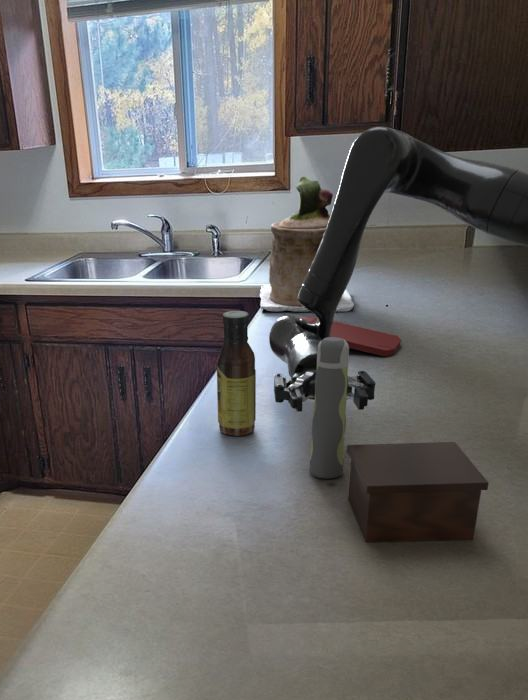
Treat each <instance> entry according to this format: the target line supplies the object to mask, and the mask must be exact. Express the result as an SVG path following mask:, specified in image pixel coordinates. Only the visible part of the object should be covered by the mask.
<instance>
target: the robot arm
mask: <svg viewBox="0 0 528 700" xmlns="http://www.w3.org/2000/svg"><path fill="white" fill-rule="evenodd" d="M343 168H344V169H343V172H342V175H341V179H340V182H339V183H340V184H339V187H338V191H337V193H336V197H335V200H334V204H333V207H332V210H331V213H330V219H329V222H328V225H327V228H326V231H325V233H324V236H323V239H322V241H321V244H320V246H319V249H318V251H317V253H316V256H315V258H314V260H313V262H312V265H311V267H310V269H309V271H308V274H307V276H306V278H305V280H304V283H303V285H302V287H301V289H300V292H299V295H298V301H299V303H300V304H301V305H302V306H303V307H305V308H306V309H307V310H309V311H308V312H311V313H312V314H313V315H314V316H315V317H318V318H317V322H316V324H313V323H311V322H308V321H305V320H302V319H299V318H298V317H297V316H294V315H284V316H281V317H279V318H278V319H277V320H275V322H274V323H273V324H272V326H271V328H270V331H269V335H268V336H269V337H268V341H269V342H268V343H269V347H270V350H271V352H272V353H273V354H274V355H275V356H276V357H277V358H278V359H279V360H281V361H282V362H283V363H285V364H286V365H287V370H288V372H287V373H288V376H289V377H290V378H287V377H286V376H284V375H283V374H281V373H275V374H274V375H273V382H274V383H273V392H274V402H275V403H278V404H281V403H284V401H287V403H288V404H289V405H290V408H291V409H294V410H295V411H296V412H297V413H299V412H303V403H304V402H306V401H307V400H313V401H315V377H316V372H317V353H318V345H319V343H320V342H321V341H322V340H323V339H324V338H328V337H330V334H331V328H332V324H333V321H334V319H335V315H336V309H337V307H338V304H339V302H340V300H341V298H342V296H343V294H344V292H345V289H347V287H348V285H349V283H350V281H351V280H352V279H351V278H352V276H353V274H354V272H355V269H356V265H357V261H358V257H359V252H360V247H361V243H362V239H363V236H364V233H365V229H366V227H367V224H368V222H369V219H370V218H371V215H372V213H373V211H374V210H375V207H376V206H377V205H378V203H379V202H380V200H381V198H382V196H383V195H384V194H385V193H386V194H394V195H399V196H403V197H407V198H412V199H415V200H419V201H422V202H425V203H428V204H432V205H433V206H436V207H438V208H440V209H442V210H444V211H445V212H447V213H448V214H450V215H452V216H453V217H455V218H457V219H458V220H460V221H461V222H463V223H465V224H467V225H469V226H470V227H473V228H474V229H477V230H478V231H481V232H483V233H484V234H485V233H486V234H488V235H491V236H493V237H496V238H499V239H501V240H504V241H507V242H509V243H512V244H515V245H520V246H523V247H528V172H526V171H523V170H521V169H517V168H514V167H509V166H507V165H503V164H498V163H493V162H488V161H483V160H477V159H470V158H464V157H459V156H457V155H452V154H450V153H447V152H446V151H443V150H440V149H438V148H436V147H433V146H431V145H430V144H427V143H425V142H423V141H421V140H419V139H417V138H416V137H414V136H411V134H408V133H406V132H404V131H402V130H400V129H399V130H398V129H395V128H393V127H392V128H391V127H389V126H383V125H382V126H373V127H370V128H368V129H365V130H364V131H363V132H362V133H360V134H359V135H358V136H357V137H356V138H355V140H354V142H353V143H352V145H351V147H350V150H349V152H348V155H347V158H346V162H345V164H344V167H343ZM353 390H354V391H353ZM375 391H376V381H375V380H374V379H373V378H372V377H371V376H370V375H369V373H368V372H367V371H364V370H358V372H357V374H356V376H355V375H354V376H351V375H348V386H347V395H346V401H348V400H350V401H353V403H354V405H355V406H356V409H357V410H358V411H362V410H363V411H364V410H365V407H367V406H369V405H368V403H369V401H372V400H375Z"/></svg>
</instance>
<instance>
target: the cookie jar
mask: <svg viewBox="0 0 528 700" xmlns="http://www.w3.org/2000/svg"><path fill="white" fill-rule="evenodd" d="M295 188H296V190H297V192H298V193H299V199H300V204H299V209H298V211H295V212H293V213H292V214H290V216H288V217H286V218H284V219H283V220H280V221H277V222H273V223H272V224H271V225H270V231H271V233H272V239H271V240H272V242H271V245H272V248H271V254H270V257H269V273H268V282H269V284H266V285H265V284H264V285H261V287H260V290H259V298H260V302H259V306H260V309H261V311H263V310H266V311H269V312H284V311H289V312H301V313H303V312H304V313H305V312H310V311H309V310H307V309H306V308H305V307H303V306H302V305H301V304H300V303H299V301H298V295H299V292H300V289H301V287H302V285H303V283H304V280H305V278H306V276H307V274H308V271H309V269H310V267H311V265H312V262H313V260H314V258H315V256H316V253H317V251H318V249H319V246H320V244H321V241H322V239H323V236H324V233H325V231H326V228H327V225H328V222H329V219H330V216H331V214H330V213H329V210H328V208H326V207H328V206H330V205H332V201H333V196H334V195H333V192H332V191H331V190H329V189H325V188H321V184H320V182H319V181H318V180H310V179H308V178H307V177H306V176H301V177H300V178H299V182H298V184H297V185H296V187H295ZM354 306H355V302H353V300H352V296H351V294H350V293H349V291H348V290H347V288H346V289H345V292H344V294H343V296H342V298H341V300H340V302H339V304H338V307H337V309H336V312H340V313H341V312H343V313H344V312H349V311H352V309H353V307H354ZM336 312H335V313H336Z"/></svg>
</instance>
